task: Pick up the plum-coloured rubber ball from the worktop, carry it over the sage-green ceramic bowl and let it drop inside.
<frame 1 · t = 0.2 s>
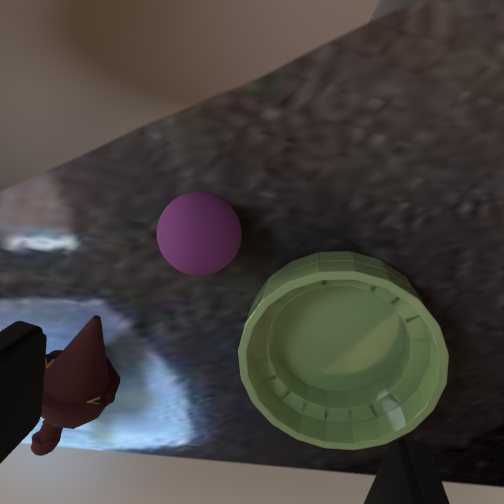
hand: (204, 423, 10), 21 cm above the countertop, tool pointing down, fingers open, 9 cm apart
bowl: (335, 331, 32), on the countertop
ball: (199, 233, 28), point 3 cm above the countertop
brown gnome figurine: (97, 360, 37), on the countertop
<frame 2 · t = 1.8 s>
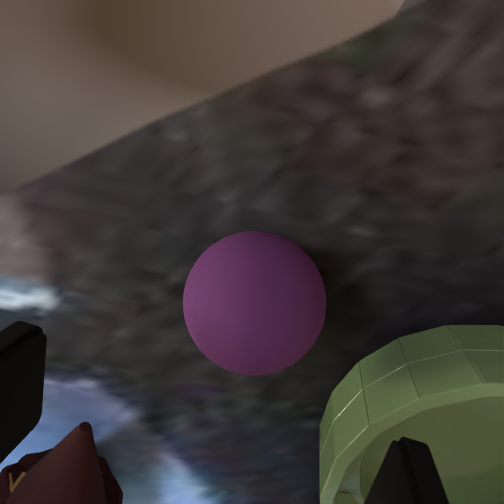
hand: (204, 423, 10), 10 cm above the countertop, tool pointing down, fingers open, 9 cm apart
bowl: (457, 440, 20), on the countertop
ball: (254, 301, 17), point 3 cm above the countertop
brown gnome figurine: (89, 459, 25), on the countertop
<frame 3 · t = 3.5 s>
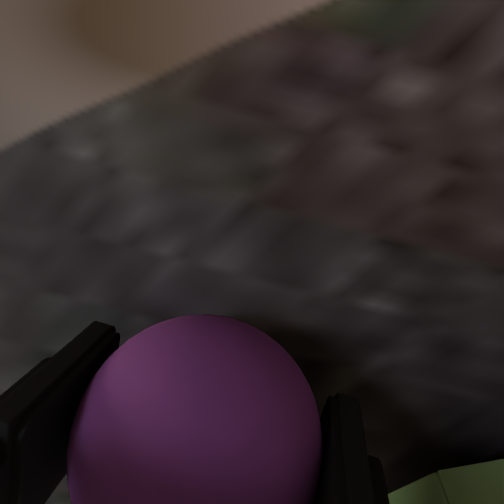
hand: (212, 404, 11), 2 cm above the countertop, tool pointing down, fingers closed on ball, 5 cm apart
ball: (200, 436, 10), point 3 cm above the countertop, touching gripper
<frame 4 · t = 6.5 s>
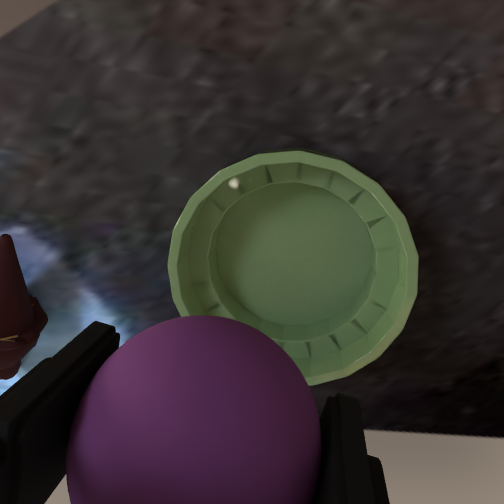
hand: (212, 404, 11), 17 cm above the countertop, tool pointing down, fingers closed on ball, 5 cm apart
bowl: (292, 253, 27), on the countertop
ball: (199, 437, 10), point 18 cm above the countertop, touching gripper
brown gnome figurine: (25, 301, 32), on the countertop
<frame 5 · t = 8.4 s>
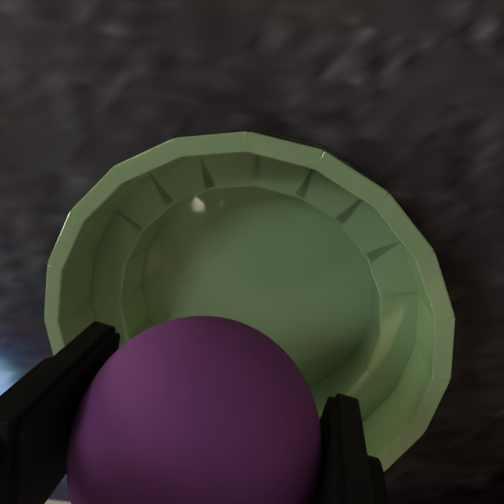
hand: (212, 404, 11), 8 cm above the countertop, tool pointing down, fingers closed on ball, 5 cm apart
bowl: (254, 291, 18), on the countertop
ball: (199, 437, 10), point 9 cm above the countertop, touching gripper
when the fingers open (5 cm above the countertop, at t = 9.7 s): ball drops 3 cm, resting on bowl.
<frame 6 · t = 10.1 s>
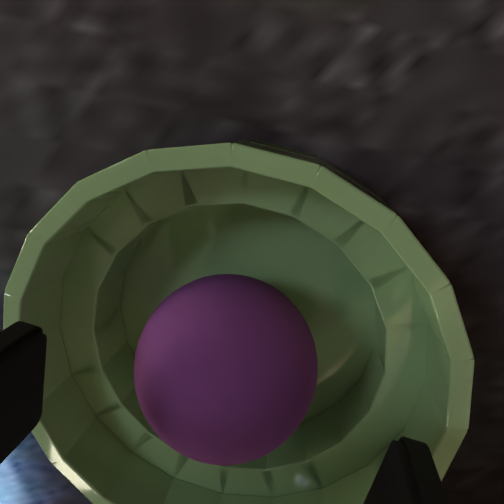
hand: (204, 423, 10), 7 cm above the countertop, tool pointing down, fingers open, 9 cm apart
bowl: (245, 315, 16), on the countertop
ball: (227, 363, 13), point 4 cm above the countertop, touching bowl
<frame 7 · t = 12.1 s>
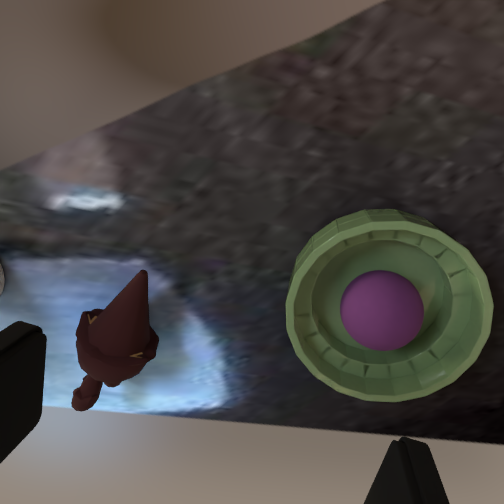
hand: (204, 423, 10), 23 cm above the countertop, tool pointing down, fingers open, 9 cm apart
bowl: (374, 291, 33), on the countertop
ball: (380, 309, 29), point 4 cm above the countertop, touching bowl
brown gnome figurine: (134, 321, 37), on the countertop
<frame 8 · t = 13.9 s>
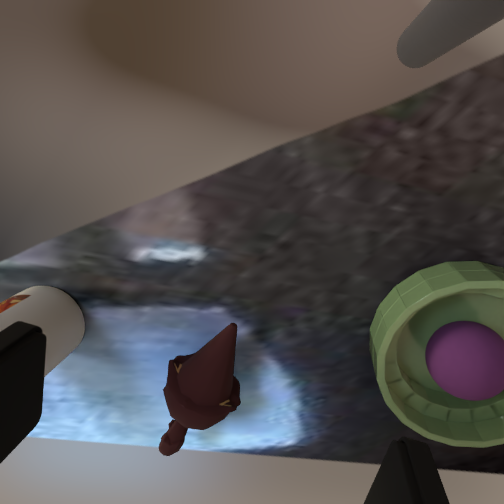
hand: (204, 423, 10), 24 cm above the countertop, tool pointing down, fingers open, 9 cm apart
bowl: (453, 336, 34), on the countertop
milk bottle: (53, 317, 40), on the countertop
ball: (467, 359, 30), point 4 cm above the countertop, touching bowl
brown gnome figurine: (211, 364, 39), on the countertop
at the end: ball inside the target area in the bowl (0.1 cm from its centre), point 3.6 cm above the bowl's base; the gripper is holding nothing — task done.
